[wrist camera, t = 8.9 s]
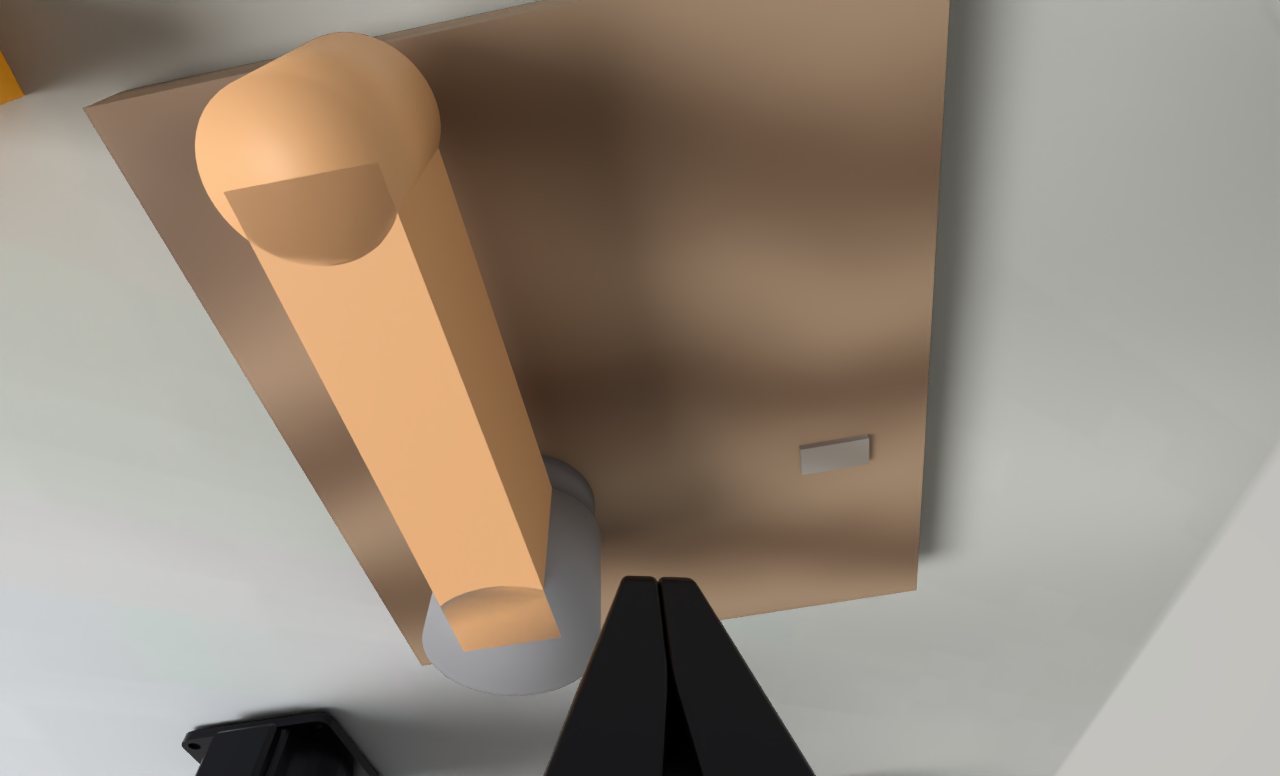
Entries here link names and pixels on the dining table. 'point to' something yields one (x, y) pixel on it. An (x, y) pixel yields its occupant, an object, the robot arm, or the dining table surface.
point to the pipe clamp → (8, 83)
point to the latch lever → (409, 349)
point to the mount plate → (649, 280)
